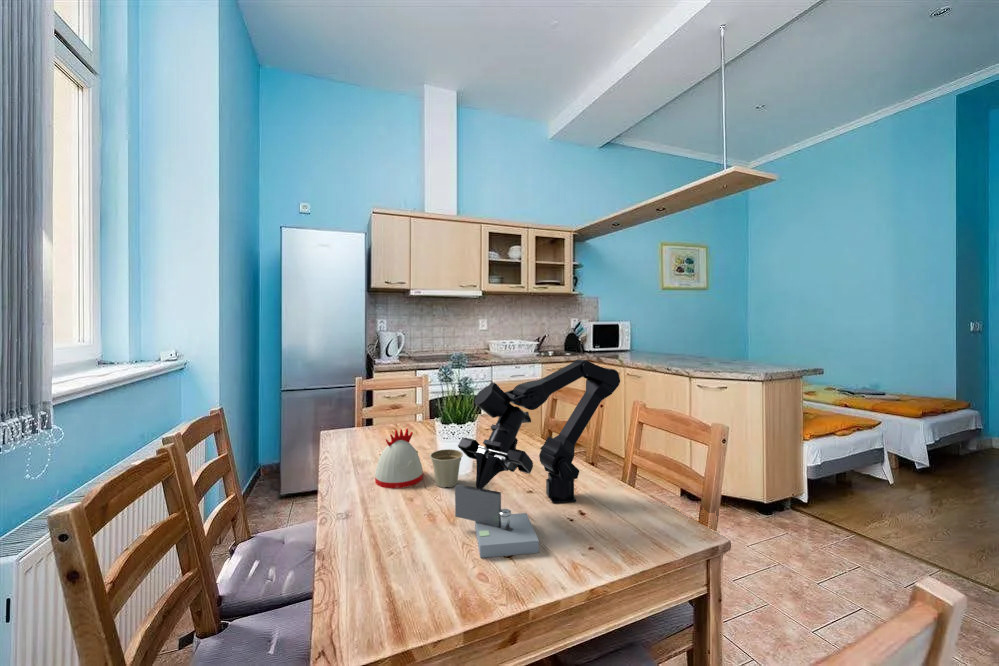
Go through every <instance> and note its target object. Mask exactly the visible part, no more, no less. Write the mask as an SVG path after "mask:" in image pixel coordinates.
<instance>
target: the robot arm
mask: <svg viewBox="0 0 999 666" xmlns="http://www.w3.org/2000/svg"><path fill="white" fill-rule="evenodd" d="M582 378H583V379H585V380H586V381H585V392H584V394H583V395H582V396H581V398H580V400H579V401H578V403H577V405H576V406H575V408H574V410H573V411H572V413H571V415H570V416H569V418H568V419H567V421H566V422H565V424H564V426H563V427H562V429H561V430H560V432H559V434H558V435H556V436H555V437H553V436H552V437H551V436H547V438H546V439H545V442H544V444H543V445H542V446H541V447H540V448H539V449H540V452H539V455H538V456H539V463H540V464H541V465H542V466H543V467H544V471H545V472H548V473H547V478H546V480H545V483H546V484H545V488H546V489H545V491H546V492H545V494H546V495H547V497H548V498H549V500H550V501H551V503H552V504H557V503H559V504H561V503H562V504H563V503H574V502H577V498H576V497H575V480H576V479H578V478H579V475H580V470H579V468H577V466H575V465H574V464H573V460H574V458H575V449H576V448H575V447H576V444H577V442H578V441H579V439H580V437H581V436H582V434H583V432H585V429H586V427H587V426H588V424H589V423H590V421H591V419H592V417H593V415H594V414H595V412H596V411H597V409H598V407H599V406H600V404H601V402H602V401H604V400H605V399H606V398H608V397H610V396H611V395H612V394H614V392H615V391H616V390H617V388H619V385H620V383H621V379H620V378H621V377H620V374H619V372H618V371H617V370H616V369H614V368H610V367H609V368H608V367H603V366H600V365H599V364H595V363H593V362H591V361H590V360H586V359H575V360H574V361H572V362H571V363H570V364H567V365H565V366H563V367H562V368H559V369H558V370H556V371H554V372H553V373H550V374H548V375H547V376H545V377H542V378H541V379H536V380H530V381H529V380H528V381H525V382H522V383H519V384H517V385H516V386H514V388H513V389H511V390H508V391H503V390H502V389H501V387H500V386H499V385H498V384H497V383H495V382H490V383H489V385H487V386H485V387H484V388H482V389H481V390H480V391H479V392H478V393H477V394H476V395H475V398H474V404H475V405H476V406H477V407H478V408H479V409H481V410H482V411H483V412H485V413H486V414H487V415H488V416H489V417H491V418H493V419H494V418H498V419H497V422H496V423H495V424H491V425H490V429H491V431H492V432H491V433H490V435H489V437H488V439H486V438H484V440H483V442H482V444H483V446H482V445H481V444H480V443H479V442H478V441H477V440H476V439H474V438H469V437H463V438H461V439H460V442H459V443H458V445H457V447H458V448H459V449H460V450H461V452H462V453H463V454H464V455H465V456H466V457H468V458H470V459H473V460H476V475H475V476H476V477H475V479H476V480H475V488H481V489H485V487H486V486H487V485H488V483H489V482H490V481H492V480H493V479H494V478H495V477H496V476H497V475H498V474H499V473H502V472H504V471H505V472H508V471H510V472H512V473H514V472H515V471H516V470H517V468H518V471H519V472H522V473H525V474H531V473H532V470H533V467H534V462H533V460H532V459H531V457H530V455H528V454H527V453H526V451H525V450H521V449H517V445H518V441H519V439H518V438H517V436H518V433H519V430H520V429H521V427H522V425H523V424H527V423H528V424H529V423H531V422H532V419H531V416H530V413H529V411H535V410H537V409H538V408H539V407H541V406H542V405H543V404H544V403H545V402H547V400H548V399H549V398H550V396H551V395H552V394H554V393H556V392H558V391H559V390H562V389H563V388H565V387H567V386H568V385H570V384H572V383H574V382H576V381H577V380H580V379H582ZM513 404H514V405H516V406H514V405H513ZM520 407H522V408H524V409H526V410H529V411H524V410H523V409H521V408H520Z"/></svg>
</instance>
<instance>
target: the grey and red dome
mask: <svg viewBox="0 0 999 666" xmlns="http://www.w3.org/2000/svg"><path fill="white" fill-rule="evenodd" d="M394 430H395V431H394V436H393V434H391V433H390V434H389V437H390V439H391V440H390V441H389V440H388V439H387V438H385V442H386V444H387V445H386V447H385V448H384V449H383V451H382V452H381V454H380V456H379V458H378V462H377V464H376V468H375V474H374V477H375V478H374V481H375V484H376V485H377V487H381V488H384V489H403V487H404V488H409V487H411V486H412V487H413V486H414V485H417V484H419V483H420V482H421V481H422V480H423V478H424V473H423V472H424V471H423V466H422V462H421V458H420V456H419V451H418V450H416V448H415V447H414V446H413V445H412V444H411V443H410V441H411V439H412V437H413V431H410V433H409V429H408V428H406V429H405V432H403V430H402V429H401V428H399V432H398V430H397V429H394Z"/></svg>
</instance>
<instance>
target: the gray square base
mask: <svg viewBox="0 0 999 666" xmlns="http://www.w3.org/2000/svg"><path fill="white" fill-rule="evenodd" d="M474 529H475V534H476V535H475V536H476V540H477V546H478V552H479V558H480V559H483V558H495V557H497V558H498V557H507V556H517V555H528V554H529V555H530V554H539V553H540V541H539V538H538V535H537V534H536V530H535V529H534V526H533V525H532V522H531V520H530V518H529V516H528V513H527V512H522V513H521V512H520V513H519V512H518V513H511V515H510V527H509V528H508V529H502V528H501V527H500V526H495V525H490V524H486V523H481V522H477V521H474Z"/></svg>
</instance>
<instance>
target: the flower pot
mask: <svg viewBox="0 0 999 666" xmlns="http://www.w3.org/2000/svg"><path fill="white" fill-rule="evenodd" d="M463 454H464V452H463V451H462V450H461V451H460V450H458V449H452V448H451V449H450V448H446V449H439V450H435V451H433V452H431V453H430V454H429V458H430V459H431V463H432V465H433V472H434V479H435V485H436V486H437V487H438V488H439V487H440V488H452V487H455V486H456V485H458V481H459V473H460V464H461V461H462V457H463Z"/></svg>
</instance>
